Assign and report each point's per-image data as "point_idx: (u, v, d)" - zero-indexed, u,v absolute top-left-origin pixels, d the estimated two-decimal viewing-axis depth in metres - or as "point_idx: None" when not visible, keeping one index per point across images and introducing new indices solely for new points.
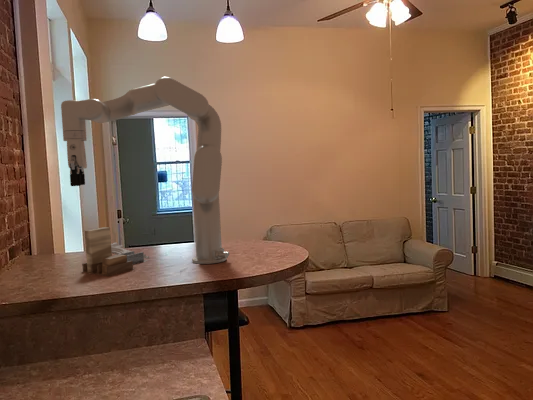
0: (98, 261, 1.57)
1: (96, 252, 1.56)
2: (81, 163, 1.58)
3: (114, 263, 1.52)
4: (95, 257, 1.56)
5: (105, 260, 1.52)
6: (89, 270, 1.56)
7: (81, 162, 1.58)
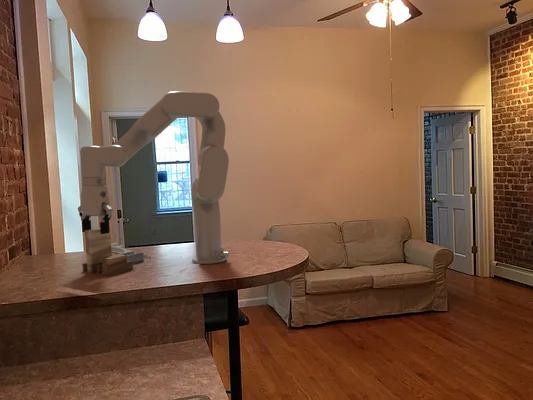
0: (98, 261, 1.57)
1: (96, 252, 1.56)
2: None
3: (114, 263, 1.52)
4: (95, 257, 1.56)
5: (105, 260, 1.52)
6: (89, 270, 1.56)
7: None
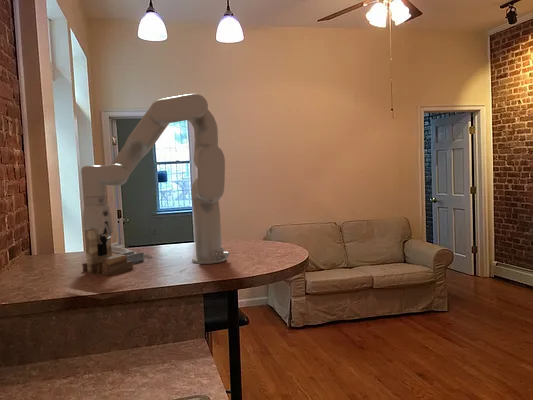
0: (98, 261, 1.57)
1: (96, 252, 1.56)
2: (112, 228, 1.57)
3: (114, 263, 1.52)
4: (95, 257, 1.56)
5: (105, 260, 1.52)
6: (89, 270, 1.56)
7: None
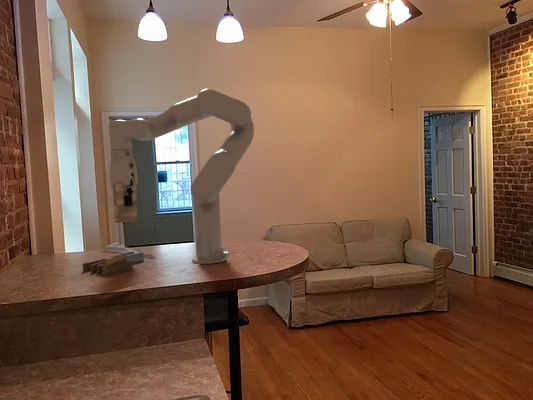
0: (124, 213, 1.65)
1: (123, 205, 1.65)
2: (137, 181, 1.66)
3: (114, 263, 1.52)
4: (122, 209, 1.65)
5: (105, 260, 1.52)
6: (116, 221, 1.65)
7: (137, 180, 1.66)
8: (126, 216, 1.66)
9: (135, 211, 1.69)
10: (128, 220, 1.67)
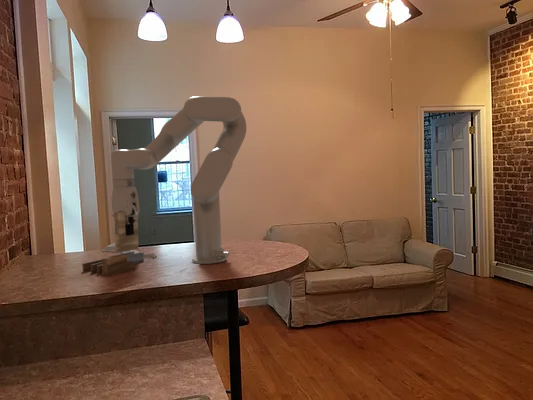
0: (126, 242, 1.66)
1: (124, 234, 1.66)
2: (139, 210, 1.67)
3: (114, 263, 1.52)
4: (123, 238, 1.65)
5: (105, 260, 1.52)
6: (117, 250, 1.65)
7: (139, 209, 1.67)
8: (127, 245, 1.67)
9: (136, 239, 1.70)
10: (129, 249, 1.68)
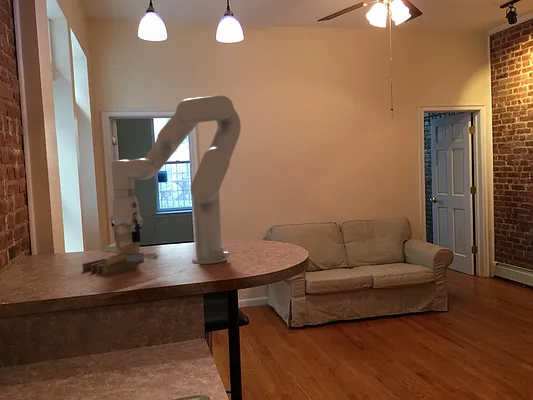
0: None
1: (125, 246, 1.66)
2: None
3: (114, 263, 1.52)
4: (125, 251, 1.66)
5: (105, 260, 1.52)
6: None
7: None
8: None
9: (138, 251, 1.71)
10: None
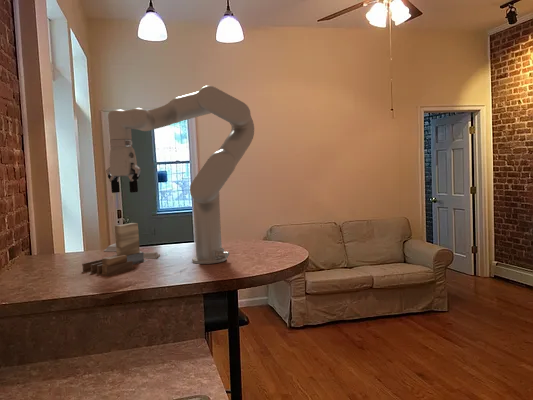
0: None
1: (125, 246, 1.66)
2: None
3: (114, 263, 1.52)
4: (125, 251, 1.66)
5: (105, 260, 1.52)
6: None
7: None
8: None
9: (138, 251, 1.71)
10: None
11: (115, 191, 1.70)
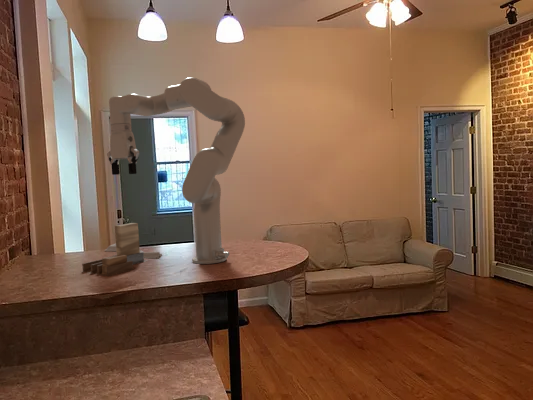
0: None
1: (125, 246, 1.66)
2: None
3: (114, 263, 1.52)
4: (125, 251, 1.66)
5: (105, 260, 1.52)
6: None
7: None
8: None
9: (138, 251, 1.71)
10: None
11: (115, 173, 1.80)
